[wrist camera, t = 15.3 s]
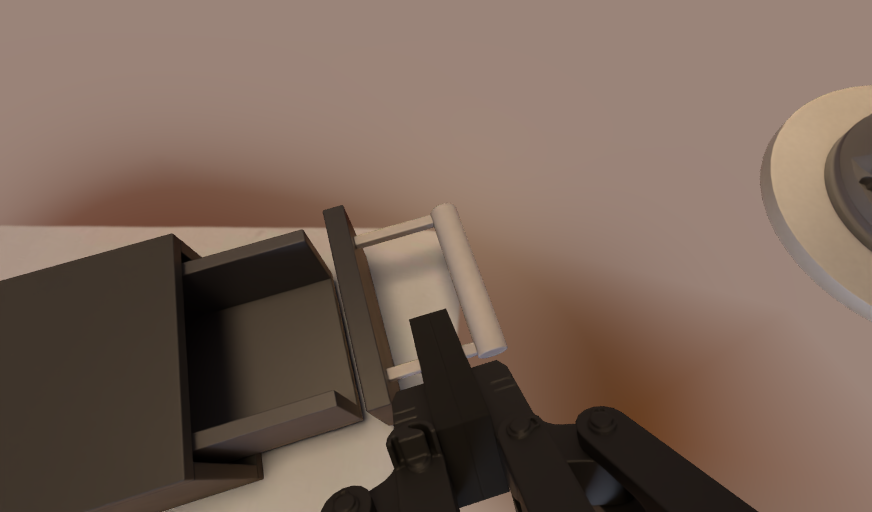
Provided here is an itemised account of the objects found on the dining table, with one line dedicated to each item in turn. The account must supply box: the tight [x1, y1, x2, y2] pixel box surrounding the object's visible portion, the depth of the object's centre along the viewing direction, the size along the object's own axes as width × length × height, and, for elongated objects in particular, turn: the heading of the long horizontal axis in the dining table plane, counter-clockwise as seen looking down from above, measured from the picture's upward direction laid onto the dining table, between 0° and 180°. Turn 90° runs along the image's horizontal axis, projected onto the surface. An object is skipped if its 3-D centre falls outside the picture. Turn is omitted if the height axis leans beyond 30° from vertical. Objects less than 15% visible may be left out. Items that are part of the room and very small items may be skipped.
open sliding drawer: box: [181, 203, 507, 463], centre depth 27 cm, size 20×11×7 cm, turn 107°
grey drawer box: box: [0, 234, 263, 512], centre depth 26 cm, size 15×13×9 cm
